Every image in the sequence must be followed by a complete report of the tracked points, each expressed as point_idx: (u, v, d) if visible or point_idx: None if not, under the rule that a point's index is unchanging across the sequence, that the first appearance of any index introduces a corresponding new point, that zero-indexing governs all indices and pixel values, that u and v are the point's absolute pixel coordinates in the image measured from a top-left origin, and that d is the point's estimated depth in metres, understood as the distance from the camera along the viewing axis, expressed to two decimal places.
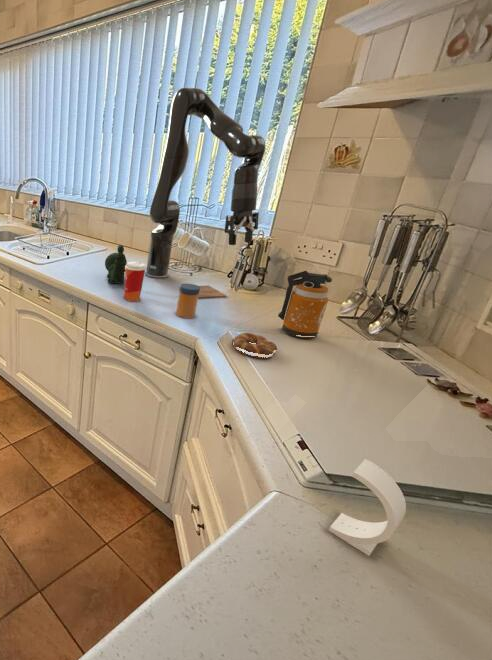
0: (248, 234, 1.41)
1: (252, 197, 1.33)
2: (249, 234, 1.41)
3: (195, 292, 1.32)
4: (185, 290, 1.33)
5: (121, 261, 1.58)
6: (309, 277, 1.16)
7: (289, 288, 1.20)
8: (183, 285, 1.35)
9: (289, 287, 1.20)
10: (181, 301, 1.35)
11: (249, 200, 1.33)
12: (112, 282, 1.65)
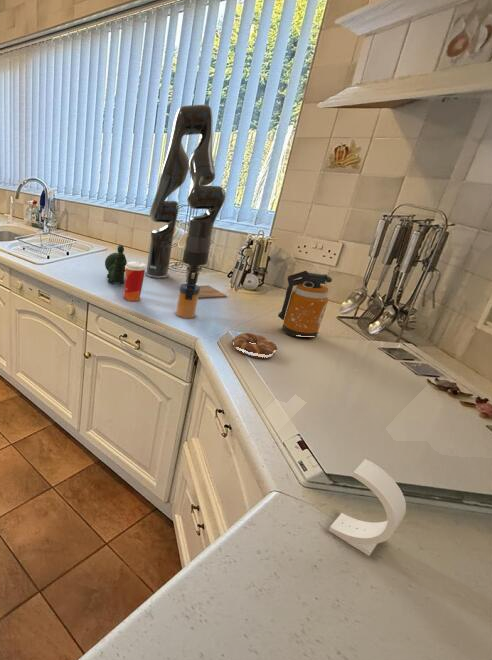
0: None
1: None
2: None
3: (195, 292, 1.32)
4: (185, 290, 1.33)
5: (121, 261, 1.58)
6: (309, 277, 1.16)
7: (289, 288, 1.20)
8: (183, 285, 1.35)
9: (289, 287, 1.20)
10: (181, 301, 1.35)
11: (207, 254, 1.27)
12: (112, 282, 1.65)
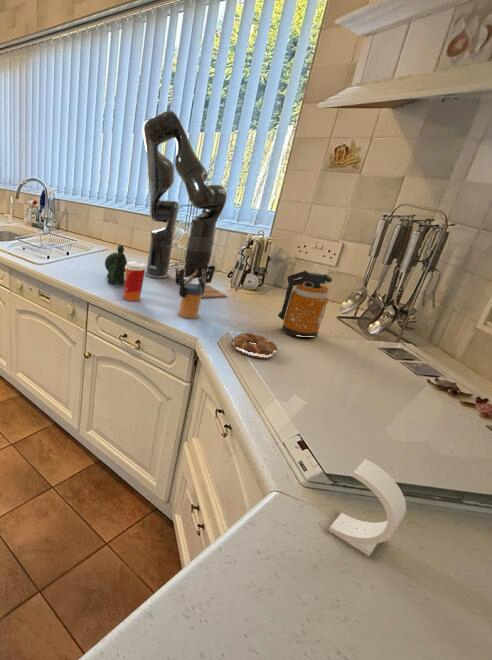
0: None
1: None
2: None
3: None
4: None
5: (121, 261, 1.58)
6: (309, 277, 1.16)
7: (289, 288, 1.20)
8: (196, 288, 1.32)
9: (289, 287, 1.20)
10: (185, 302, 1.34)
11: None
12: (112, 282, 1.65)
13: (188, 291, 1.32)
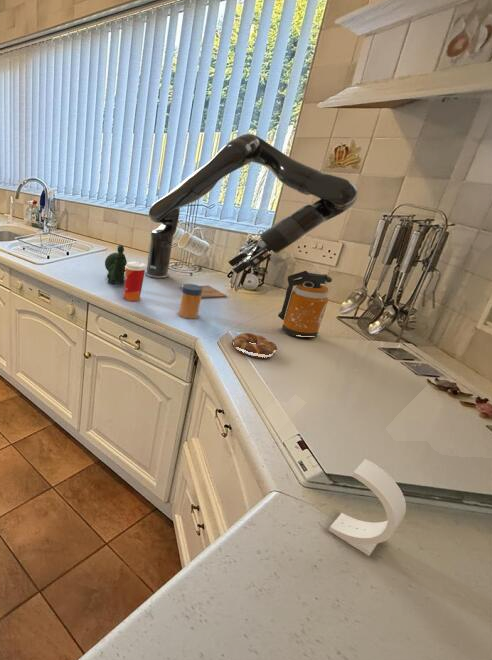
0: None
1: None
2: None
3: None
4: None
5: (121, 261, 1.58)
6: (309, 277, 1.16)
7: (289, 288, 1.20)
8: (196, 289, 1.32)
9: (289, 287, 1.20)
10: (186, 302, 1.34)
11: None
12: (112, 282, 1.65)
13: (188, 292, 1.32)
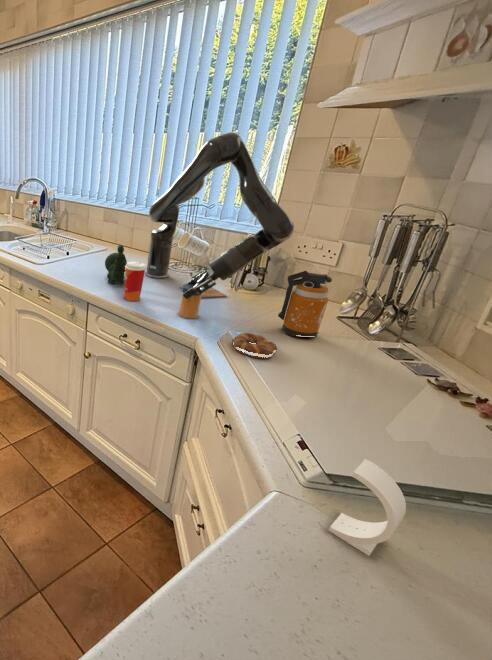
0: None
1: None
2: None
3: None
4: None
5: (121, 261, 1.58)
6: (309, 277, 1.16)
7: (289, 288, 1.20)
8: None
9: (289, 287, 1.20)
10: (186, 302, 1.34)
11: None
12: (112, 282, 1.65)
13: None
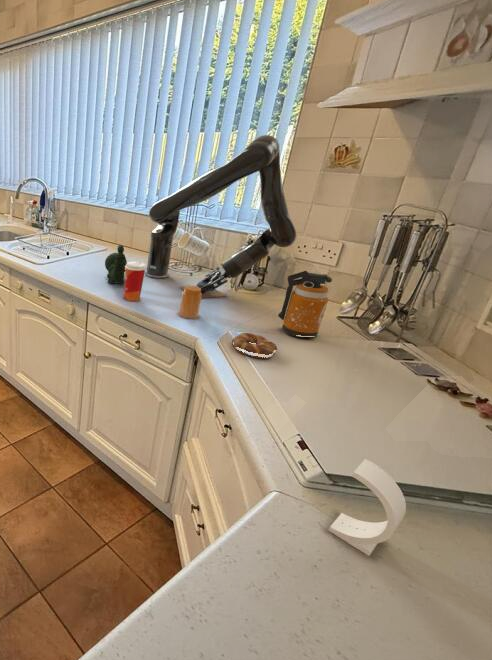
0: None
1: (231, 256, 1.51)
2: None
3: None
4: None
5: (121, 261, 1.58)
6: (309, 277, 1.16)
7: (289, 288, 1.20)
8: None
9: (289, 287, 1.20)
10: (186, 302, 1.34)
11: None
12: (112, 282, 1.65)
13: None
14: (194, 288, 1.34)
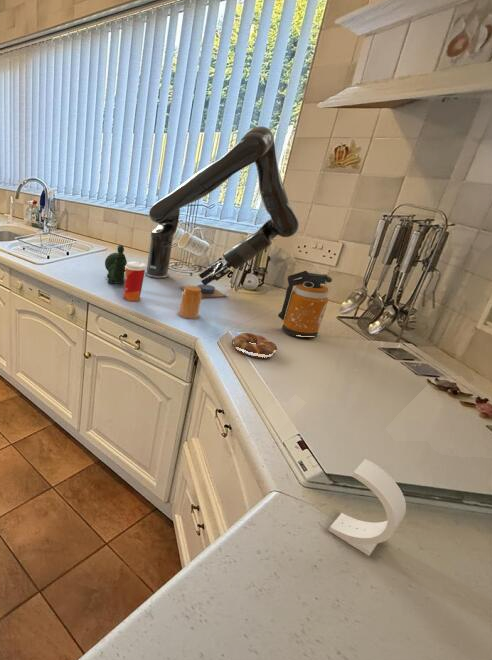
0: None
1: (232, 247, 1.50)
2: None
3: None
4: None
5: (121, 261, 1.58)
6: (309, 277, 1.16)
7: (289, 288, 1.20)
8: (209, 288, 1.55)
9: (289, 287, 1.20)
10: (186, 302, 1.34)
11: None
12: (112, 282, 1.65)
13: (202, 291, 1.55)
14: (194, 288, 1.34)
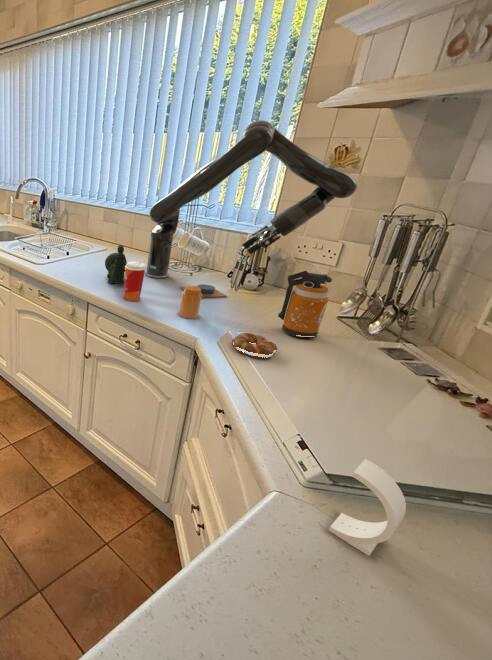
0: None
1: None
2: None
3: None
4: None
5: (121, 261, 1.58)
6: (309, 277, 1.16)
7: (289, 288, 1.20)
8: (209, 288, 1.55)
9: (289, 287, 1.20)
10: (186, 302, 1.34)
11: None
12: (112, 282, 1.65)
13: (202, 291, 1.55)
14: (194, 288, 1.34)
